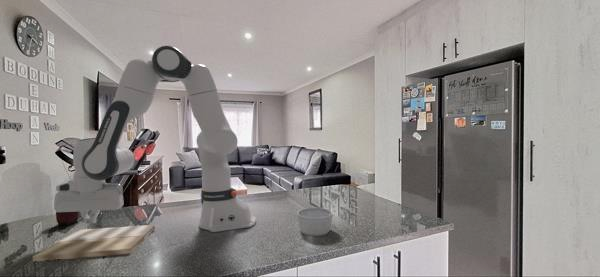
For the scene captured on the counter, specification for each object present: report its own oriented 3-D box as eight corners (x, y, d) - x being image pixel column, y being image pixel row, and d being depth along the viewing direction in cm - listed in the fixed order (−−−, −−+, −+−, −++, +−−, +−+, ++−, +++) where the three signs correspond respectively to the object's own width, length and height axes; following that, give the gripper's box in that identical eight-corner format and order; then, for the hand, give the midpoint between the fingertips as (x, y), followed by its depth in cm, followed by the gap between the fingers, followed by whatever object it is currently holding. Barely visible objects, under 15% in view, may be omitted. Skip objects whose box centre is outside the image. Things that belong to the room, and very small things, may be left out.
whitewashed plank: (154, 228, 102) (154, 224, 101) (144, 239, 92) (144, 235, 92) (78, 234, 97) (78, 229, 97) (58, 246, 87) (58, 241, 87)
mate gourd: (55, 224, 108) (54, 188, 108) (80, 219, 114) (79, 185, 113) (56, 229, 103) (55, 191, 103) (82, 224, 108) (81, 187, 108)
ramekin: (301, 239, 91) (301, 219, 91) (293, 226, 104) (293, 208, 104) (337, 235, 94) (337, 216, 94) (325, 223, 107) (325, 206, 107)
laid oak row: (143, 240, 91) (143, 235, 91) (130, 253, 81) (130, 248, 81) (57, 247, 87) (57, 242, 87) (32, 261, 77) (32, 256, 77)
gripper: (126, 181, 98) (127, 218, 98) (63, 183, 94) (64, 221, 95) (118, 184, 92) (118, 224, 92) (50, 186, 88) (51, 227, 88)
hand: (90, 222), depth 93 cm, fingers closed
